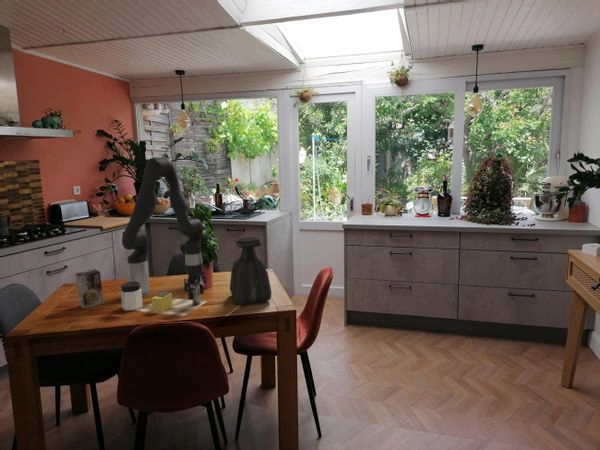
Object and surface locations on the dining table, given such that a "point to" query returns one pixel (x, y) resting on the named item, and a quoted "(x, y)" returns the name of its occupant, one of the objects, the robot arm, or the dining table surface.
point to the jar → (131, 296)
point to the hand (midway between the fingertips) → (196, 296)
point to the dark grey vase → (249, 275)
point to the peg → (196, 295)
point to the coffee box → (89, 288)
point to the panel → (175, 307)
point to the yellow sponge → (162, 302)
